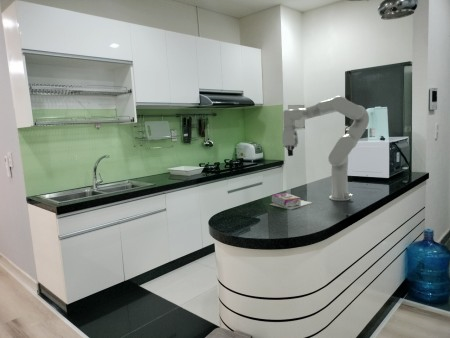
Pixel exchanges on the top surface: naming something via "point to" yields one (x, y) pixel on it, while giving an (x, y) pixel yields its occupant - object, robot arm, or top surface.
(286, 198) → the candy bar box
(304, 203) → the mat
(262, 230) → the top surface
